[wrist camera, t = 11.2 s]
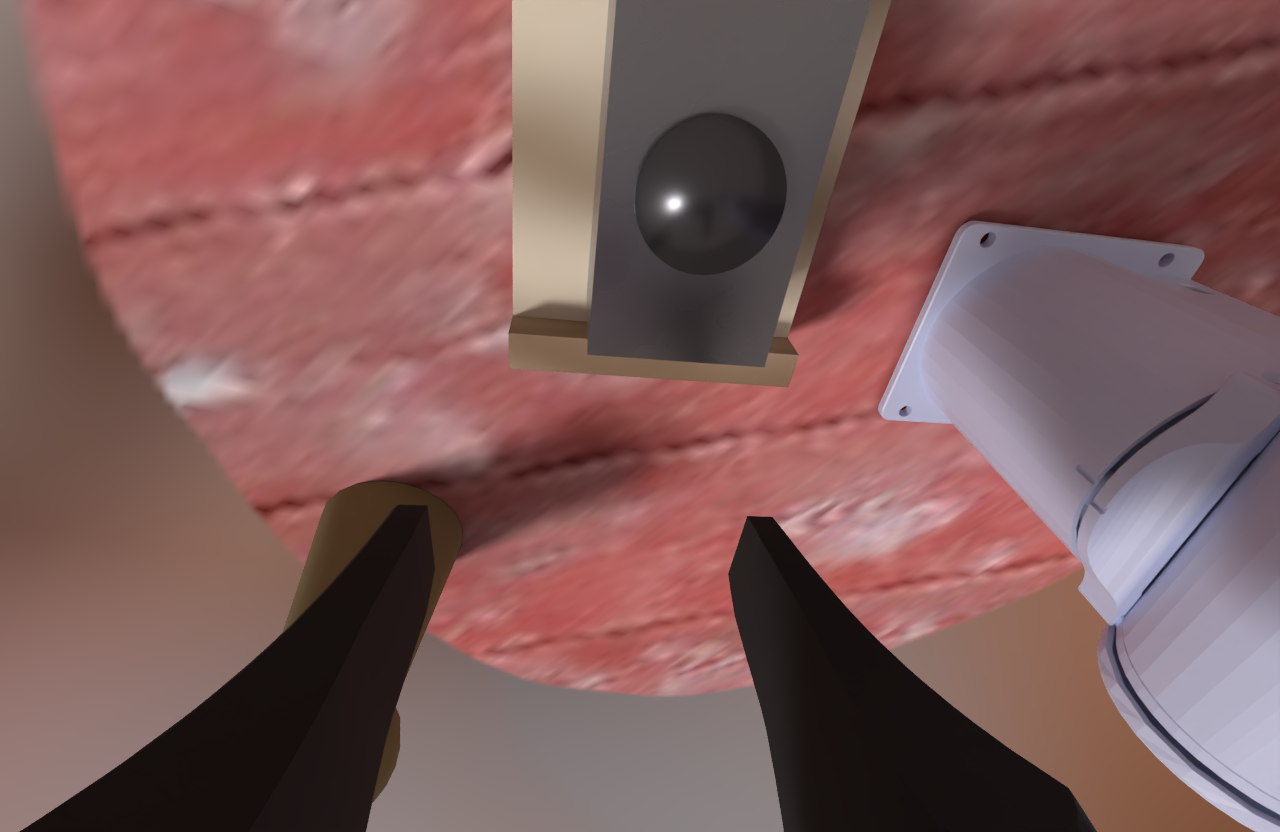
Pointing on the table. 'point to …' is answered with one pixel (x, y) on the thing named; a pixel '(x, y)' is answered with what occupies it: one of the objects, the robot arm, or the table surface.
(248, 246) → the table surface
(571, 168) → the stand
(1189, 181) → the table surface
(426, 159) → the table surface
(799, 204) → the housing
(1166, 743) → the robot arm
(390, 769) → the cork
